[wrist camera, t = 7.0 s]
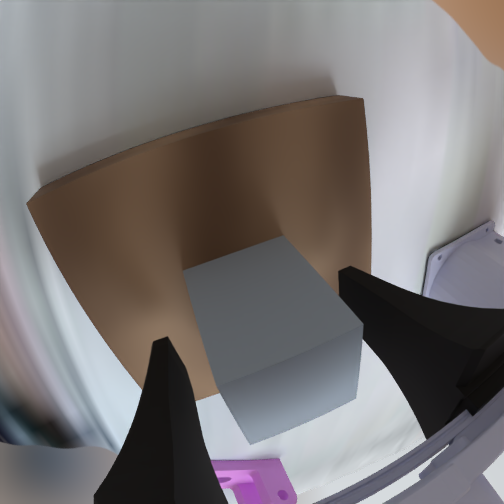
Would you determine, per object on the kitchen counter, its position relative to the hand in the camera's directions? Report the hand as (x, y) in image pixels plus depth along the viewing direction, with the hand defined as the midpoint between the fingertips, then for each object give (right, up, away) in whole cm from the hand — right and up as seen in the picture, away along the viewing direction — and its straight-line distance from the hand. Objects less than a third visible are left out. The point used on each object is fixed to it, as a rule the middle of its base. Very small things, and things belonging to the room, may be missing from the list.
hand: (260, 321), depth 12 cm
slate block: (-1, +1, +2) cm, 2 cm away
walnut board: (-1, +2, +4) cm, 4 cm away
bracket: (-4, -21, +16) cm, 27 cm away
